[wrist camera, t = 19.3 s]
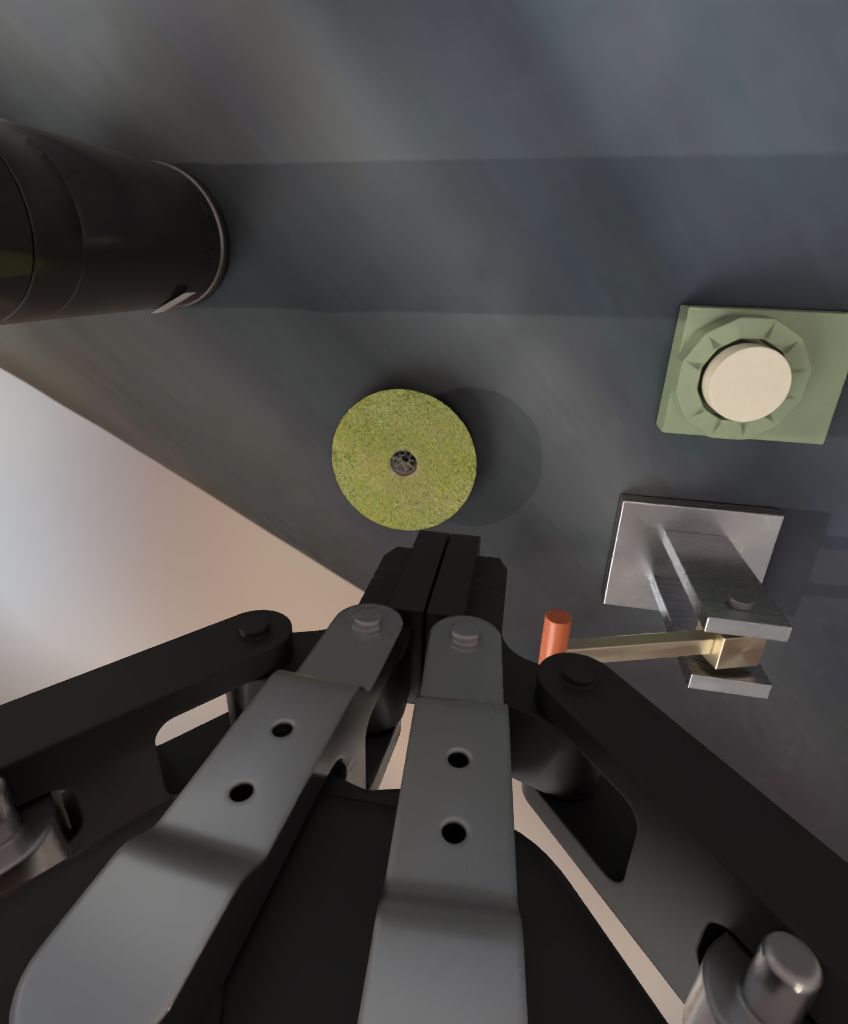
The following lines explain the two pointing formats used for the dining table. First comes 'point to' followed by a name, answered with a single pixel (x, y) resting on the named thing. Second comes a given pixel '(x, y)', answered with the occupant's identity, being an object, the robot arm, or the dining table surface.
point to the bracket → (699, 577)
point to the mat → (404, 459)
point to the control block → (793, 333)
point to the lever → (651, 644)
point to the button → (746, 382)
